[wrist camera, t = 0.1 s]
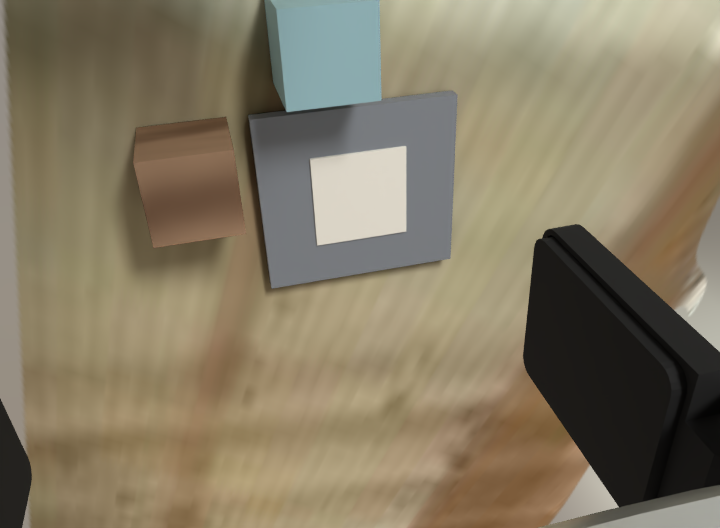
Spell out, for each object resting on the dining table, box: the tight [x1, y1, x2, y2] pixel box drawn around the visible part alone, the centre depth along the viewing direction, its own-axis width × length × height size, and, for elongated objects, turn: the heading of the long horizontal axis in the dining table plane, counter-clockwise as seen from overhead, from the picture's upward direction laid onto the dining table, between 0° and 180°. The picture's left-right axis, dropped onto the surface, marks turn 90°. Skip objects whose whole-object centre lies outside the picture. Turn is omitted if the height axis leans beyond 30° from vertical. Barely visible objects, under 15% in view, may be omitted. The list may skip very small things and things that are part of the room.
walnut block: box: [133, 117, 246, 248], centre depth 45 cm, size 6×6×6 cm
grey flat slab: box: [248, 91, 457, 288], centre depth 51 cm, size 14×15×1 cm
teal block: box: [264, 0, 381, 112], centre depth 42 cm, size 6×6×6 cm
